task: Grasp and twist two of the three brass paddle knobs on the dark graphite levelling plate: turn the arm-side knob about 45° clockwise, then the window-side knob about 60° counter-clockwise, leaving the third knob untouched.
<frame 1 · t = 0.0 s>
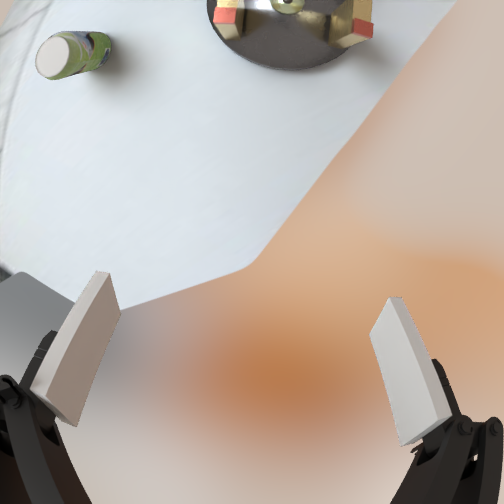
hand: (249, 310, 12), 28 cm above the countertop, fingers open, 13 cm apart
knob c: (231, 13, 20), point 7 cm above the countertop, hinge at 0.0°
tribrach plate: (285, 5, 24), on the countertop
knob a: (348, 23, 20), point 7 cm above the countertop, hinge at 0.0°
beverage can: (99, 54, 27), on the countertop
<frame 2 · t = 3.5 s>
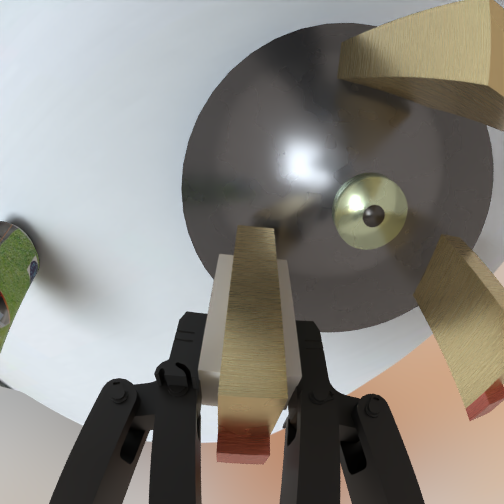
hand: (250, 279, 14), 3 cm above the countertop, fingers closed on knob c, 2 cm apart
knob c: (248, 335, 11), point 7 cm above the countertop, hinge at 0.0°, touching gripper
knob b: (452, 77, 5), point 7 cm above the countertop, hinge at 0.0°
tribrach plate: (356, 194, 15), on the countertop
knob a: (472, 320, 11), point 7 cm above the countertop, hinge at 0.0°
beverage can: (25, 248, 18), on the countertop
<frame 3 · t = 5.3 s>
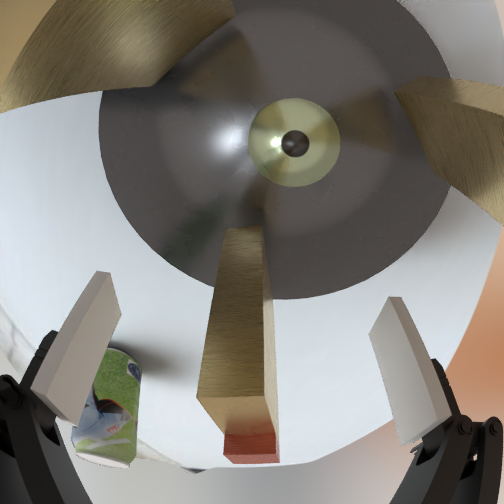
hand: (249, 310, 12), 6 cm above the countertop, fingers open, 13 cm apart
knob c: (248, 335, 11), point 7 cm above the countertop, hinge at -30.3°
knob b: (134, 12, 5), point 7 cm above the countertop, hinge at 0.0°
tribrach plate: (288, 133, 13), on the countertop
knob a: (493, 153, 6), point 7 cm above the countertop, hinge at 0.0°
beverage can: (123, 358, 25), on the countertop
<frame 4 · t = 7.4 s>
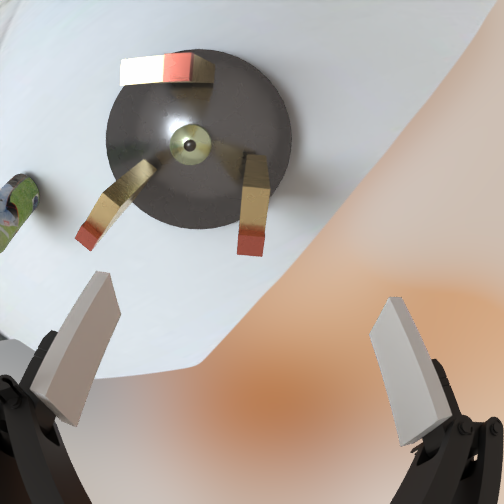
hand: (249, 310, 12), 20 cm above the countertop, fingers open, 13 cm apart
knob c: (118, 199, 23), point 7 cm above the countertop, hinge at -39.7°
knob b: (173, 71, 17), point 7 cm above the countertop, hinge at 0.0°
tribrach plate: (195, 139, 27), on the countertop
knob a: (253, 197, 23), point 7 cm above the countertop, hinge at 0.0°
beverage can: (32, 192, 29), on the countertop
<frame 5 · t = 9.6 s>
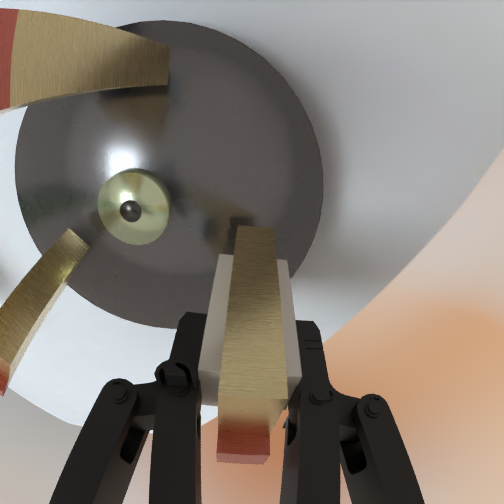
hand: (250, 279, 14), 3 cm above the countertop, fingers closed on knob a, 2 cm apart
knob c: (29, 310, 11), point 7 cm above the countertop, hinge at -41.2°
knob b: (54, 72, 5), point 7 cm above the countertop, hinge at 0.0°
tribrach plate: (149, 190, 15), on the countertop
knob a: (248, 335, 11), point 7 cm above the countertop, hinge at 0.0°, touching gripper
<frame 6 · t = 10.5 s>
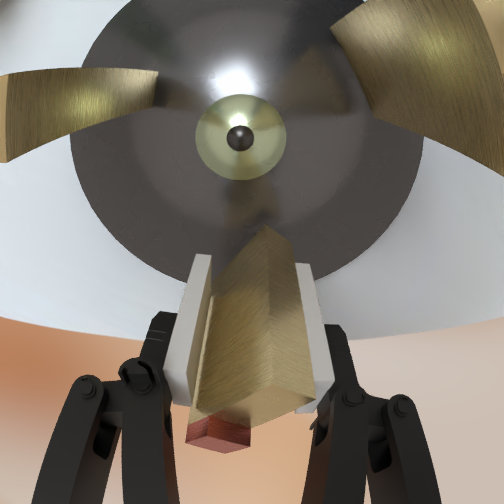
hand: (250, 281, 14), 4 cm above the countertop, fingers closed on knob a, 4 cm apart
knob c: (47, 97, 6), point 7 cm above the countertop, hinge at -41.4°
knob b: (426, 62, 6), point 7 cm above the countertop, hinge at 0.0°
tribrach plate: (243, 129, 14), on the countertop
knob a: (247, 329, 12), point 7 cm above the countertop, hinge at 22.8°, touching gripper
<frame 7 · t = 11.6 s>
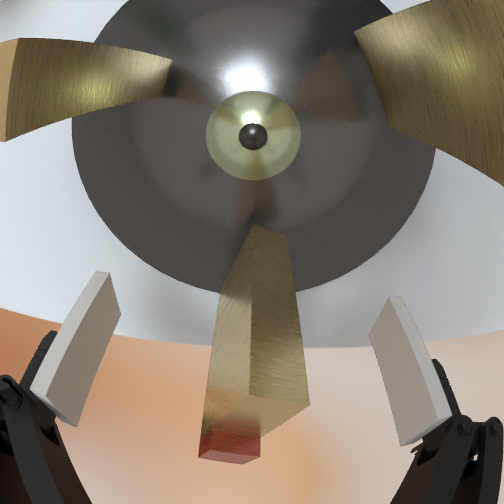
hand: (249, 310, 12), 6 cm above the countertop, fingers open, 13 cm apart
knob c: (54, 75, 5), point 7 cm above the countertop, hinge at -41.4°
knob b: (454, 78, 5), point 7 cm above the countertop, hinge at 0.0°
tribrach plate: (253, 127, 13), on the countertop
knob a: (248, 335, 11), point 7 cm above the countertop, hinge at 41.9°
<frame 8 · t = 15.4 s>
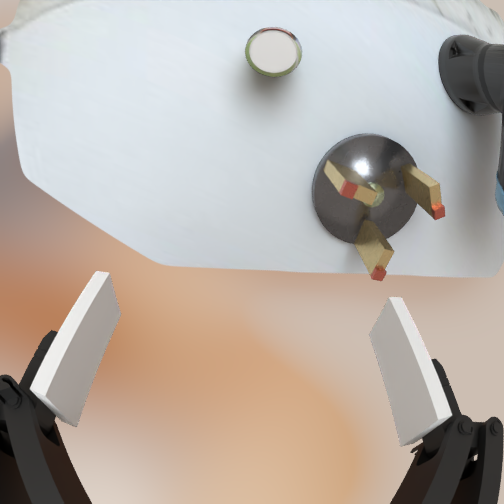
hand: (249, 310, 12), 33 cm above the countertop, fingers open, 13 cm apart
knob c: (349, 181, 35), point 7 cm above the countertop, hinge at -41.5°
knob b: (422, 189, 35), point 7 cm above the countertop, hinge at 0.0°
tribrach plate: (367, 189, 43), on the countertop
knob a: (373, 248, 40), point 7 cm above the countertop, hinge at 52.9°
beverage can: (271, 57, 32), on the countertop
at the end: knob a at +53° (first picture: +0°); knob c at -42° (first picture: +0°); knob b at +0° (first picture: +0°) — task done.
